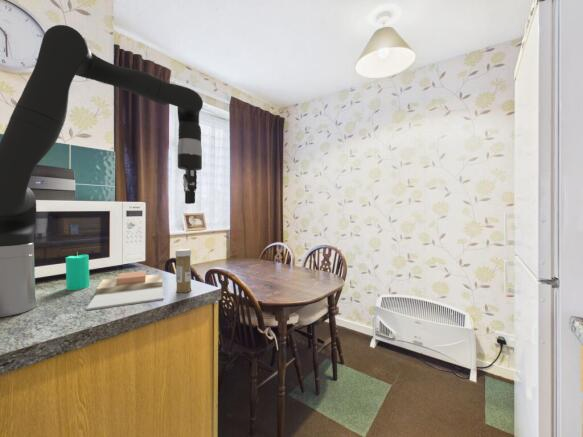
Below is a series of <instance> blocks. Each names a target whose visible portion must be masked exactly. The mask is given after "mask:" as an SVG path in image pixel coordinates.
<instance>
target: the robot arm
mask: <svg viewBox="0 0 583 437" xmlns="http://www.w3.org/2000/svg"><path fill="white" fill-rule="evenodd" d="M76 76H77V77H81V78H85V79H88V80H93V81H96V82H100V83H104V84H107V85H110V86H113V87H116V88H118V89H122V90H124V91H128V92H131V93H132V94H135V95H137V96H140V97H142V98H145V99H147V100H149V101H152V102H154V103H157V104H158V105H163V106H168V105H172V106H175V107H177V119H178V131H177V132H178V139H177V140H178V141H177V168H178V169H180V170H183V171H185V173H184V174H183V175H182V180H183V183H182V184H183V192H184V204H187V205H191V204H195V203H196V191H197V188H198V187H197V186H198V185H197V184H198V182H197V179H198V175H197V173H198V172H197V171H201V170H202V169H203V148H202V146H203V145H202V128H201V126H200V112H201V110H202V109H203V107H204V106H203V105H204V101H203V98H202V96H201V95H200V94H199V93H198V92H197V91H195V90H194V89H192V88H189V87H185V86H182V85H179V84H175V83H170V82H167V81H165V80H163V79H161V78H159V77H158V76H155V75H152V74H150V73H148V72H145V71H142V70H138V69H133V68H129V67H124V66H121V65H117V64H115V63H111V62H109V61H106V60H104V59H102V58H101V57H99V56H97V55H95V54H94V53H92V52H91V49H90V46H89V45H88V42H87V41H86V39H85V38H84V37H83V36H82V34H81V32H79V31H78V30H77V29H75V28H73V27H71V26H69V25H66V24H56V25H53V26H50V27H49V28H48V29H47V30H46V31H45V33H44V34H43V36H42V41H41V44H40V48H39V52H38V56H37V59H36V62H35V65H34V68H33V70H32V73H31V75H30V76H29V78H28V80H27V82H26V84H25V86H24V89H23V90H22V93H21V96H20V97H19V99H18V101H17V102H16V105H15V106H14V109H13V111H12V113H11V116H10V118H9V120H8V123H7V125H6V128H5V130H4V133H3V135H2V137H1V139H0V318H4V317H10V316H14V315H19V314H22V313H25V312H28V311H31V310H32V309H34V308H35V307H36V273H35V272H36V271H35V244H34V240H35V239H34V238H35V233H36V229H37V199H36V196H35V193H34V191H33V190H32V189H31V188H30V187H29V183H30V181H31V178H32V175H33V173H34V170H35V169H36V167H37V165H38V164H39V163H40V162H41V161H42V160H43V158H44V157H45V156H46V155H47V154H48V153H49V152H50V151H51V150H52V148H53V147H54V145H55V144H56V142H57V141H58V139H59V137H60V135H61V131H62V130H63V127H64V125H65V121H66V118H67V114H68V113H67V112H68V106H69V105H68V104H69V97H70V96H69V94H70V88H71V86H72V83H73V80H74V78H75V77H76Z"/></svg>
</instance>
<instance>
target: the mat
mask: <svg viewBox="0 0 583 437" xmlns="http://www.w3.org/2000/svg"><path fill="white" fill-rule="evenodd" d="M163 288H164V287H163V285H162V286H159V287H151V288H142V289H134V290H125V291H117V292H108V293H100V294H96V293H95V295H94V296H93V298H92V299H91V301H90V302H89V303H88V305H87V306H86V307H85V310H86V311H91V310H92V311H93V310H99V309H107V308H115V307H121V306H128V305H129V306H130V305H134V304H142V303H148V302H149V303H150V302H157V301H163V300H164V291H163Z"/></svg>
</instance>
